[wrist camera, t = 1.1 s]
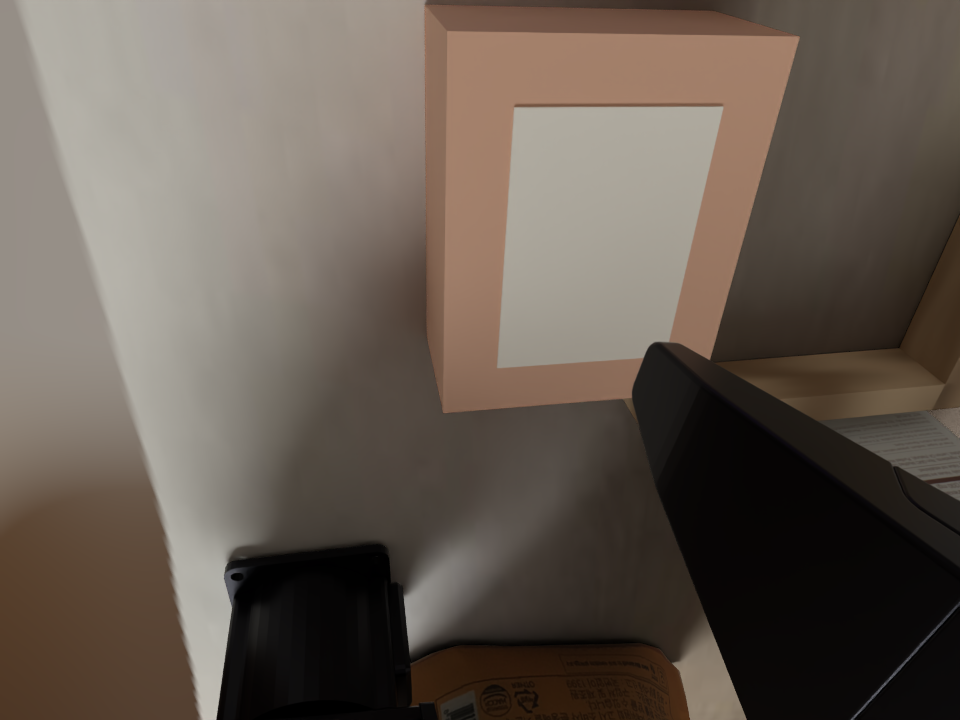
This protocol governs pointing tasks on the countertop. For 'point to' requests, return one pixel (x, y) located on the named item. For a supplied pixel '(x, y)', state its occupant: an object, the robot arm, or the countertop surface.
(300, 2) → the countertop surface
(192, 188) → the countertop surface
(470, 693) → the pancake mix bag
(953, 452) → the supplement box
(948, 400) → the u-shaped wooden frame
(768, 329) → the countertop surface
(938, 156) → the countertop surface
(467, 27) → the carton
